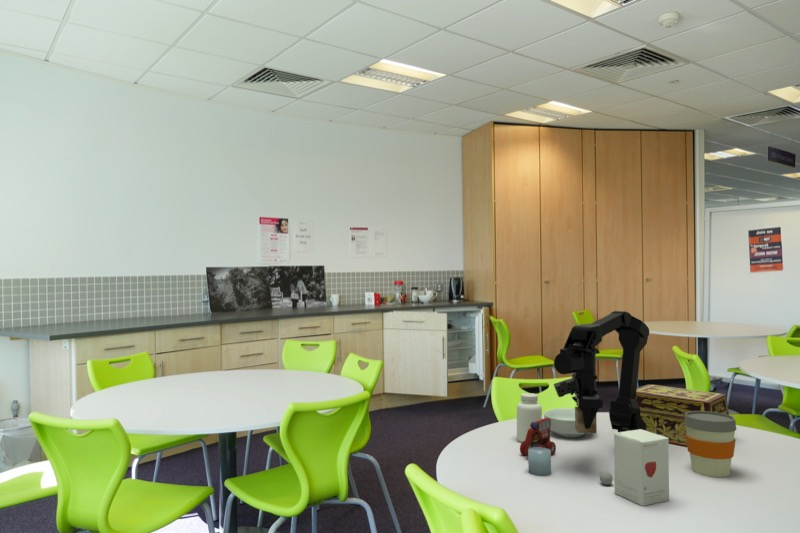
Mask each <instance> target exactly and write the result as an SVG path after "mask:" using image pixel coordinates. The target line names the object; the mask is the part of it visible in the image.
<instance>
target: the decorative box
mask: <svg viewBox="0 0 800 533" xmlns="http://www.w3.org/2000/svg"><path fill="white" fill-rule="evenodd" d="M636 401H637V403H638V405H639V407H640V416H641V418H642V419H643V421H644V422H645V424H646V425H647V427H646V431H648V432H651V433H654V434H658V435H661V436H664V437H667V438H669V445H672V446H673V445H674V446H679V447H683V448H687V442H686V436H685V434H686V433H687V432H686V426H685V425H684V419H685V413H686V412H690V411H710V412H718V413H723V414H727V415H730V411H729V405H728V398H727V394H725V393H719V392H712V391H711V392H710V391H703V390H697V389H688V388H683V387H682V388H680V387H674V386H665V385H660V384H659V385H658V384H646V385H643V386H640V387H637V390H636Z"/></svg>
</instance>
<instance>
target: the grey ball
mask: <svg viewBox="0 0 800 533" xmlns="http://www.w3.org/2000/svg"><path fill="white" fill-rule="evenodd" d="M599 481H600V483H602V484H603V485H606V486H607V485H611V484H612V483H613V481H614V477H613V475H612V474H611V473H610V472H609V471H606V470H605V471H601V473H600V474H599Z"/></svg>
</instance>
